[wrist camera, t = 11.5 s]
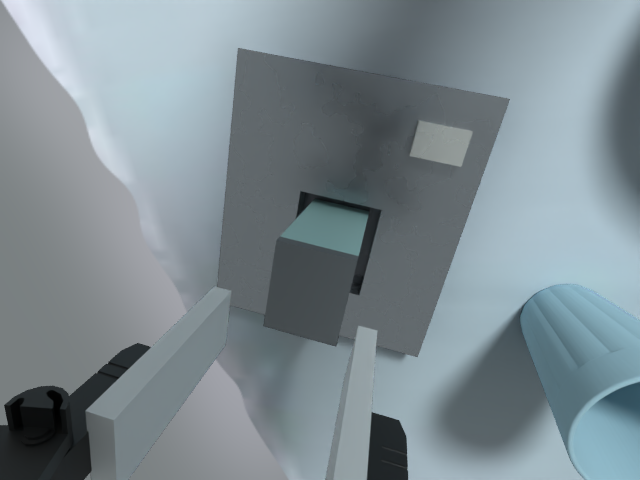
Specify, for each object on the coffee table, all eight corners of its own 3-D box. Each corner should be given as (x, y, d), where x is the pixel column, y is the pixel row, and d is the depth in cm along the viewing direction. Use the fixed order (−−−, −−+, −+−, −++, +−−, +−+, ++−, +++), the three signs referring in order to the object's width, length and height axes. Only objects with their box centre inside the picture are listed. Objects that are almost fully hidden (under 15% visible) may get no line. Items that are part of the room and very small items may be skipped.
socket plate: (250, 53, 23) (232, 45, 21) (499, 100, 21) (514, 98, 19) (227, 289, 30) (211, 306, 27) (415, 341, 28) (418, 364, 25)
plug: (314, 198, 25) (276, 240, 17) (369, 211, 25) (357, 260, 16) (303, 260, 27) (263, 325, 19) (353, 273, 27) (336, 346, 18)
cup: (517, 373, 27) (587, 515, 17) (489, 287, 25) (550, 393, 16) (632, 350, 25) (786, 499, 15) (610, 255, 23) (768, 354, 13)
